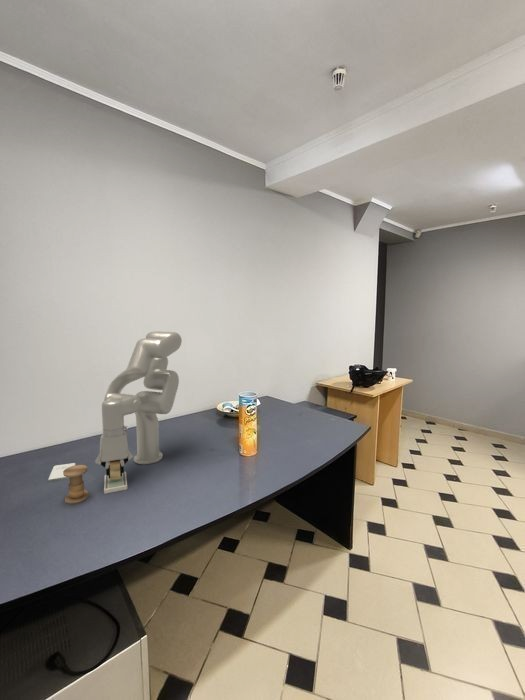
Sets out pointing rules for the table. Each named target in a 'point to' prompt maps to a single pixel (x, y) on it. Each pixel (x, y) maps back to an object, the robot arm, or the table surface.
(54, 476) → the external hard drive
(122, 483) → the board
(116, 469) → the wooden block
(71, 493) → the bobbin
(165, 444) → the table surface
